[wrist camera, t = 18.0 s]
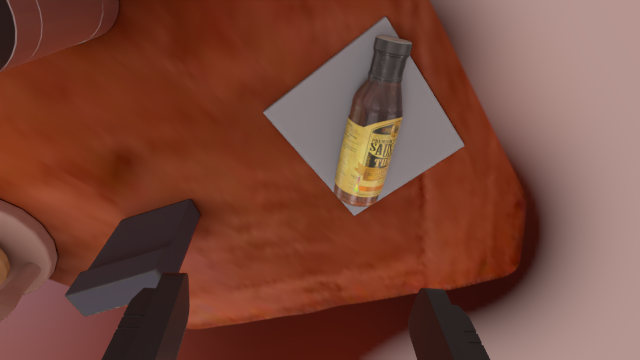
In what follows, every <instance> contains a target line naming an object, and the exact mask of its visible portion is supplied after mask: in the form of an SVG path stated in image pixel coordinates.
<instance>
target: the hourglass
mask: <svg viewBox="0 0 640 360" xmlns="http://www.w3.org/2000/svg"><path fill="white" fill-rule="evenodd" d="M57 258H58V256H57V252H56V248H55V244H54V241H53V239H52V238H51V237H50V235H49V234H48V232H47V231H46V230H45V228H44V227H43V226H42V224H41V223H39V222H38V221H37V220H35V219H34V218H33V217H31V216H30V215H29V214H28V213H26V212H25V211H24V210H22V209H20V208H18V207H16V206H13V205H11V204H9V203H7V202H5V201H2V200H0V322H1V321H2V320H4V319H5V318H6V317H7V316H8V315H9V314H10V313H11V312H12V311H13V310H14V308H15V307H16V305H17V303H18V302H19V300H20V298H21V296H22V295H25V294H27V293H30V292H32V291H35V290H37V289H38V288H40V286H41V285H42V284H43V283H45V282H46V280H48V279H49V277H50V276H51V275H52V274H53V272H54V270H55V266H56V262H57Z"/></svg>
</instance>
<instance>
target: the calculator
mask: <svg viewBox="0 0 640 360" xmlns="http://www.w3.org/2000/svg"><path fill="white" fill-rule="evenodd" d="M199 217H200V214H199V212H198V211H197V209H196V207H195V205H194V204H193V202H192V200H191V199H188V200H185V201H182V202H178V203H175V204H172V205H169V206H165V207H162V208H159V209H156V210H152V211H149V212H146V213H143V214H140V215H136V216H133V217H130V218H127V219H124V220H122V221H121V222H120V223H119V225H118V226H117V228H116V229H115V231H114V232H113V234H112V235H111V236H110V238H109V239H108V241H107V242H106V244H105V245H104V247H103V248H102V250H101V251H100V253H99V254H98V256H97V257H96V259H95V260H94V262H93V263H92V265H91V266H90V267H89V269H88V270H87V271H84V272H81V273H80V274H79V275H78V277H77V278H76V280H75V281H74V283H73V284H72V286H71V287H70V288H69V290H68V291H67V293H66V294H65V297H66V298H67V299H68V300H69V301H70V302H71V303H72V304H73V305H74V306H75V307H76V308H77V310H79V311H80V313H81V314H82V315H83V316H89V315H93V314H96V313H100V312H103V311H107V310H111V309H114V308H118V307H121V306H125V305H128V304H129V303H130V301H131V299H132V298H133V297H134V296H135V295H137V294H138V293H139V292H140V291H141V290H142V289H143V288H156V287H157V285H158V282H159V280H160V278H161V275H162V274H163V272H173V273H179V270H180V267H181V266H182V263H183V260H184V258H185V255H186V252H187V250H188V247H189V244H190V242H191V239H192V236H193V234H194V231H195V228H196V226H197V223H198V220H199Z"/></svg>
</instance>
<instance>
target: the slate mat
mask: <svg viewBox="0 0 640 360" xmlns="http://www.w3.org/2000/svg"><path fill="white" fill-rule="evenodd" d="M379 35H381V36H388V37H394V38H399V37H398V35H397V34H396V32H395V31H394V29H393V27H392V26H391V24H390V22H389V21H388V19H387V17H386V16H384V17H383V18H381V19H380V20H379V21H378V22H376V23H375V24H374V25H373V26H371V27H370V28H369V29H367V30H366V31H365V32H364V33H362V34H361V35H360V36H358V37H357V38H356V39H355V40H353V41H352V42H351V43H350V44H348V45H347V46H346V47H344V48H343V49H342V50H341V51H339V52H338V53H337V54H336V55H334V56H333V57H332V58H330V59H329V60H328V61H327V62H325V63H324V64H323V65H321V66H320V67H319V68H318V69H316V70H315V71H314V72H313V73H311V74H310V75H309V76H307V77H306V78H305V79H304V80H302V81H301V82H300V83H299V84H297V85H296V86H295V87H293V88H292V89H291V90H290V91H288V92H287V93H286V94H284V95H283V96H282V97H281V98H279V99H278V100H277V101H276V102H274V103H273V104H272V105H270V106H269V107H268V108H267V109H265V110H264V112H263V113H264V114H265V116H266V117H267V118H268V119H269V120H270V121H271V122H272V123H273V125H274V126H275V127H276V128H277V129H278V130H279V131H280V133H281V134H282V135H283V136H284V137H285V138H286V139H287V140H288V142H289V143H290V144H291V145H292V146H293V147H294V148H295V149H296V151H297V152H298V153H299V154H300V155H301V156H302V157H303V158H304V160H305V161H306V162H307V163H308V164H309V165H310V166H311V167H312V169H313V170H314V171H315V172H316V173H317V174H318V175H319V177H320V178H321V179H322V180H323V181H324V182H325V183H326V184H327V186H328V187H329V188H330V189H331V190H332V191H333V192H334V186H335V175H336V171H337V166H338V161H339V157H340V152H341V147H342V143H343V138H344V134H345V129H346V124H347V120H348V116H349V114H350V110H351V106H352V100H353V97H354V95H355V93H356V92H357V90H358V89H359V88H360V86H361V85H362V84H363V83H364V82H365V81H366V80H367V79H368V72H369V70H370V67H371V63H372V58H373V54H374V48H373V46H374V42H375V38H376V36H379ZM401 90H402V108H403V118H402V122H401V125H400V129H399V132H398V136H397V139H396V143H395V146H394V150H393V153H392V157H391V160H390V164H389V167H388V171H387V174H386V178H385V181H384V185H383V188H382V192H381V193H380V194H379V197H378V199H377V201H378V200H380V199H382V198H383V197H385V196H386V195H388V194H389V193H391V192H393V191H394V190H396V189H397V188H399V187H400V186H402V185H404V184H405V183H407V182H408V181H410V180H411V179H413V178H415V177H416V176H418V175H419V174H421V173H422V172H424V171H426V170H427V169H429V168H430V167H432V166H433V165H435V164H437V163H438V162H440V161H441V160H443V159H444V158H446V157H448V156H449V155H451V154H452V153H454V152H455V151H457V150H459V149H460V148H462V147H463V146H465V145H464V144H463V142H462V140H461V139H460V137H459V135H458V134H457V132H456V130H455V129H454V127H453V126H452V124H451V122H450V121H449V119H448V117H447V116H446V114H445V112H444V111H443V109H442V108H441V106H440V104H439V103H438V101H437V99H436V98H435V96H434V94H433V93H432V91H431V90H430V88H429V86H428V85H427V83H426V81H425V80H424V78H423V76H422V75H421V73H420V71H419V70H418V68H417V67H416V65H415V63H414V62H413V60H412V58H411V57H410V55H409V57H408V58H407V61H406V64H405V68H404V72H403V76H402V82H401ZM377 201H376V202H377ZM342 202H343V201H342ZM343 204H344V205H345V206H346V207H347V208H348V209H349V210H350V211H351V213H352V214H353V215H354V216H355V215H356V214H358V213H360V212H361V211H363V210H364V209H366V208H367V207H369V206H367V207H357V206H351V205H348V204H346V203H344V202H343Z"/></svg>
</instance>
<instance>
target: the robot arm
mask: <svg viewBox="0 0 640 360" xmlns="http://www.w3.org/2000/svg"><path fill="white" fill-rule="evenodd" d="M118 12H119V0H0V72H3V71H5V70H8V69H11V68H13V67H16V66H18V65H21V64H24V63H27V62H30V61H32V60H35V59H38V58H41V57H43V56H46V55H49V54H52V53H54V52H57V51H60V50H63V49H65V48H68V47H71V46H74V45H77V44H80V43H83V42H85V41H88V40H91V39H94V38H96V37H99V36H101V35H103V34H105V33H106V32H107V31H108V30H109V29H110V28H111V27H112V26H113V24H114V23H115V21H116V19H117V15H118ZM188 316H189V282H188V274H187V273H173V272H163V274H162V275H161V278H160V280H159V282H158V285H157V287H156V288H143V289H142V290H141V291H140V292H139V293H138V294H137V295H135V296H134V297H133V298H132V299H131V301H130V303H129V305H128V307H127V309H126V311H125V313H124V317H122V319H121V321H120V323H119V325H118V329H117V330H116V332H115V333H114V336H113V338H112V340H111V342H110V344H109V346H108V348H107V350H106V352H105V354H104V356H103V358H102V360H176V358H177V355H178V352H179V349H180V345H181V342H182V339H183V335H184V332H185V329H186V325H187V321H188ZM409 334H410V338H411V341H412V344H413V347H414V350H415V354H416V357H417V360H490V358H489V356H488V354H487V352H486V350H485V348H484V346H483V345H482V344H481V340H480V338H479V336H478V334H476V330H475V328H474V326H473V324H472V322H471V320H470V318H469V317H468V316H467V315H466V314H465V312H464V311H463V310H462V309H461V308H460V307H459V306H458V305H451V303H450V301H449V299H448V296H447V294H446V293H445V291H444V290H443V289H431V288H421V289H420V290H419V293H418V296H417V298H416V301H415V303H414V306H413V309H412V311H411V314H410V317H409Z"/></svg>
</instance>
